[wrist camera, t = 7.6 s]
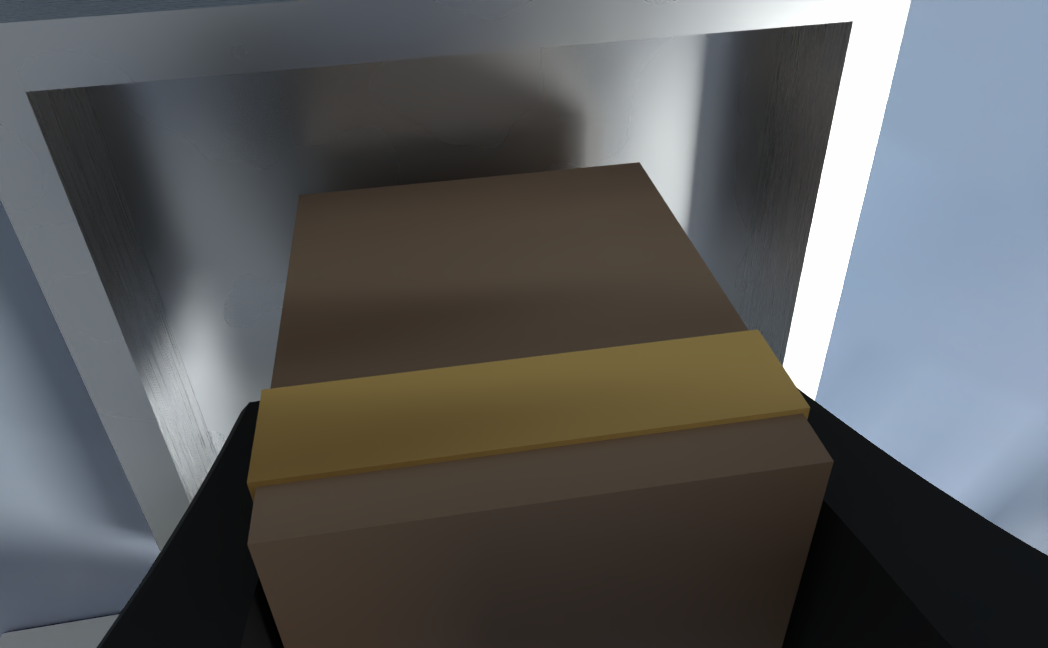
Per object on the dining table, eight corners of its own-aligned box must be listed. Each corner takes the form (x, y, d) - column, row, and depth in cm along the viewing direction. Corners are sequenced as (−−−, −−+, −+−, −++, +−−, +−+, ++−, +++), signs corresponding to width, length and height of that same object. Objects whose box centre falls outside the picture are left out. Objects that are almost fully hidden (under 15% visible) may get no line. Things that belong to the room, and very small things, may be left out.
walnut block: (627, 413, 12) (757, 747, 8) (350, 449, 12) (341, 823, 8) (643, 157, 10) (841, 454, 6) (293, 191, 9) (236, 541, 5)
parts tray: (736, 473, 15) (778, 551, 13) (220, 555, 14) (205, 650, 12) (836, -97, 9) (927, -69, 8) (-12, -41, 8) (-89, 3, 7)
